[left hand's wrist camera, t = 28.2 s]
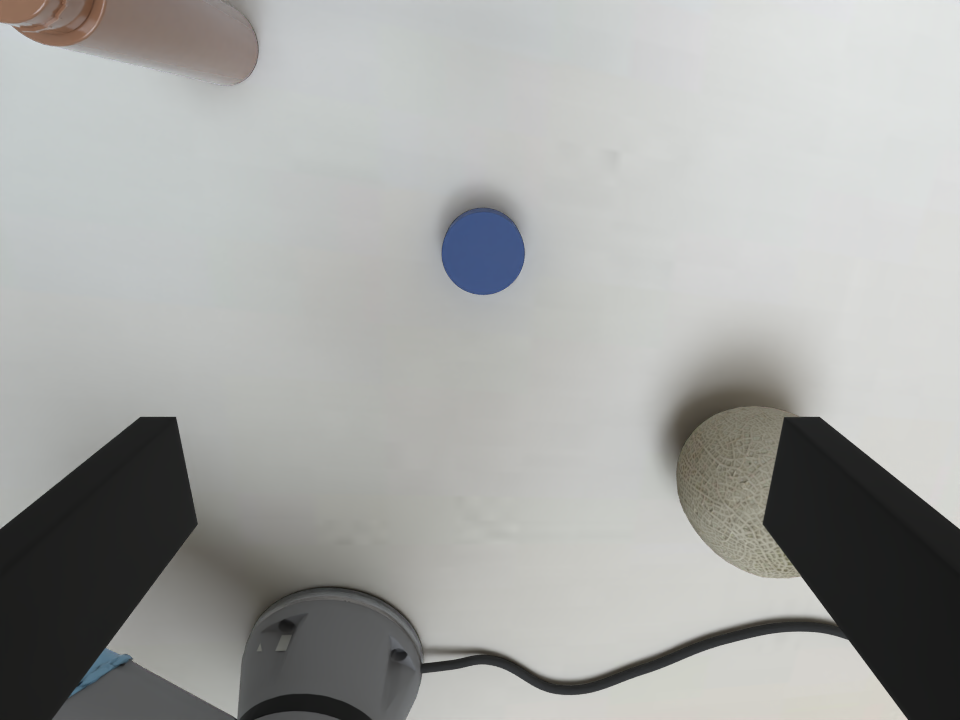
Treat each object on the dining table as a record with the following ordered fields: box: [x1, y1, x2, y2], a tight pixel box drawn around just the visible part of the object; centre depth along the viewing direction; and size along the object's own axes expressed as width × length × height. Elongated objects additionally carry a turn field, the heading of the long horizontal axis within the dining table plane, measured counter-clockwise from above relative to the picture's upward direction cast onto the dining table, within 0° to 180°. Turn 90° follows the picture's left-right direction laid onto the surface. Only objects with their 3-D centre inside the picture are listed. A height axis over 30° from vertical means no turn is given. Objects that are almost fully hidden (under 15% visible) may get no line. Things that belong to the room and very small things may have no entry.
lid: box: [442, 208, 525, 295], centre depth 38 cm, size 5×5×2 cm
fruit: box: [676, 406, 801, 578], centre depth 37 cm, size 10×12×15 cm
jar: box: [0, 0, 258, 86], centre depth 27 cm, size 4×4×17 cm
